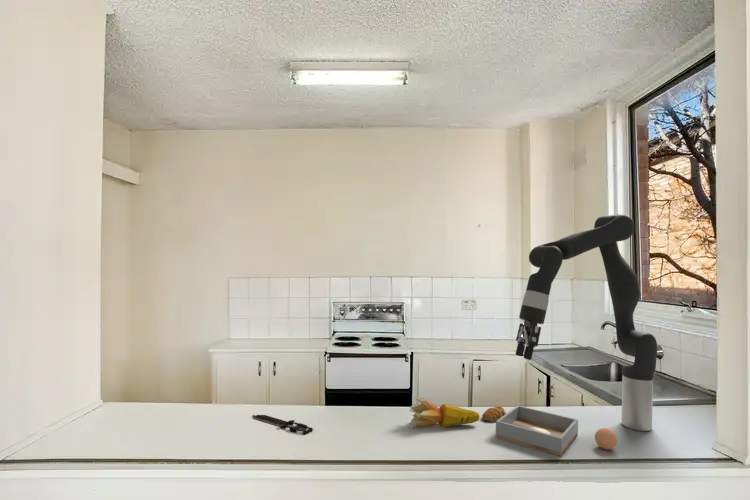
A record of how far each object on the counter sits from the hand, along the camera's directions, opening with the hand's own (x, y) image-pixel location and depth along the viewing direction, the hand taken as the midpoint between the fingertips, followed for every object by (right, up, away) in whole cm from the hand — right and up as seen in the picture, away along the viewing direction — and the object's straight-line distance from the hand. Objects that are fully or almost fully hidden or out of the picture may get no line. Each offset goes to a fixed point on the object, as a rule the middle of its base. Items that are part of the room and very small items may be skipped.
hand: (522, 357), depth 135 cm
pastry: (-3, -27, +20) cm, 34 cm away
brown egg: (+25, -24, -2) cm, 35 cm away
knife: (-78, -25, +9) cm, 82 cm away
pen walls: (+6, -26, +5) cm, 27 cm away
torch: (-23, -26, +11) cm, 37 cm away
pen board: (+6, -27, +5) cm, 28 cm away
